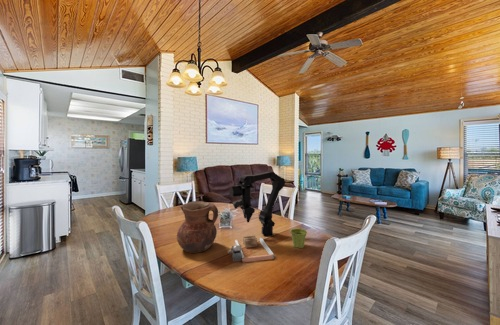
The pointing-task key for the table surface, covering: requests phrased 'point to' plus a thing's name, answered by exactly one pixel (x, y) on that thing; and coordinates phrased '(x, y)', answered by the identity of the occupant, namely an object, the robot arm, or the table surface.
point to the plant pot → (298, 237)
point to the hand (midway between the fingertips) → (246, 220)
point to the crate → (250, 241)
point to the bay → (257, 258)
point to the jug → (197, 226)
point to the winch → (236, 253)
